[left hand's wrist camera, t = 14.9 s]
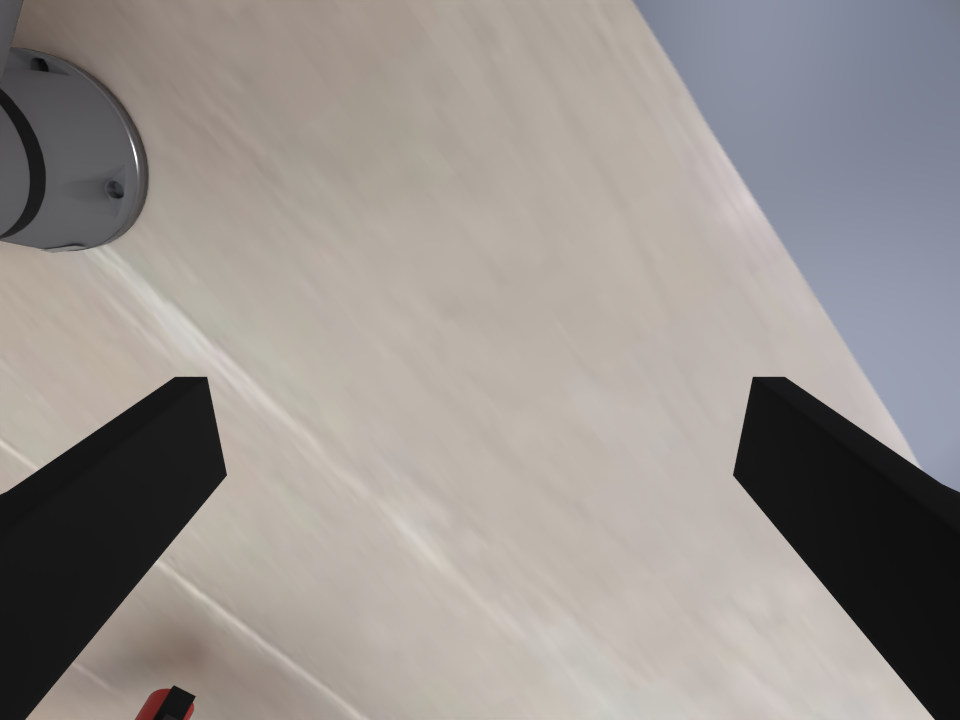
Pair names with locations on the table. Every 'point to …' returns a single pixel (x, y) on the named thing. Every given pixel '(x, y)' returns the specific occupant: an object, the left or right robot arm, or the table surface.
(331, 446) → the table surface
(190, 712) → the red cylinder
